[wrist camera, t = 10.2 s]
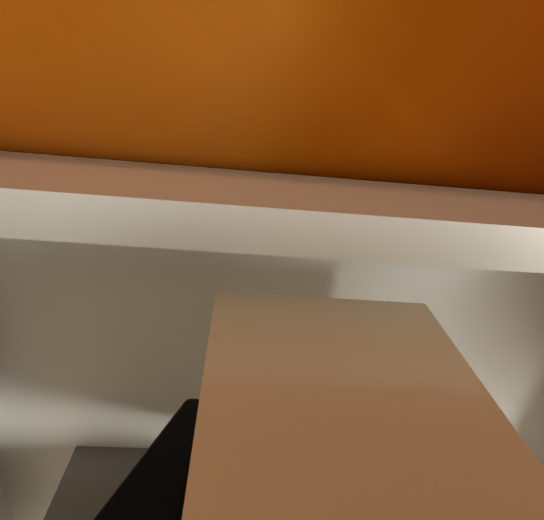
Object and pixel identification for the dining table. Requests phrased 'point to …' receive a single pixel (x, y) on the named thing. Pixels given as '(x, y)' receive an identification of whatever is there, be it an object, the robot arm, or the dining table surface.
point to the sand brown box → (349, 419)
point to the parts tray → (230, 290)
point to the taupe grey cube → (91, 481)
